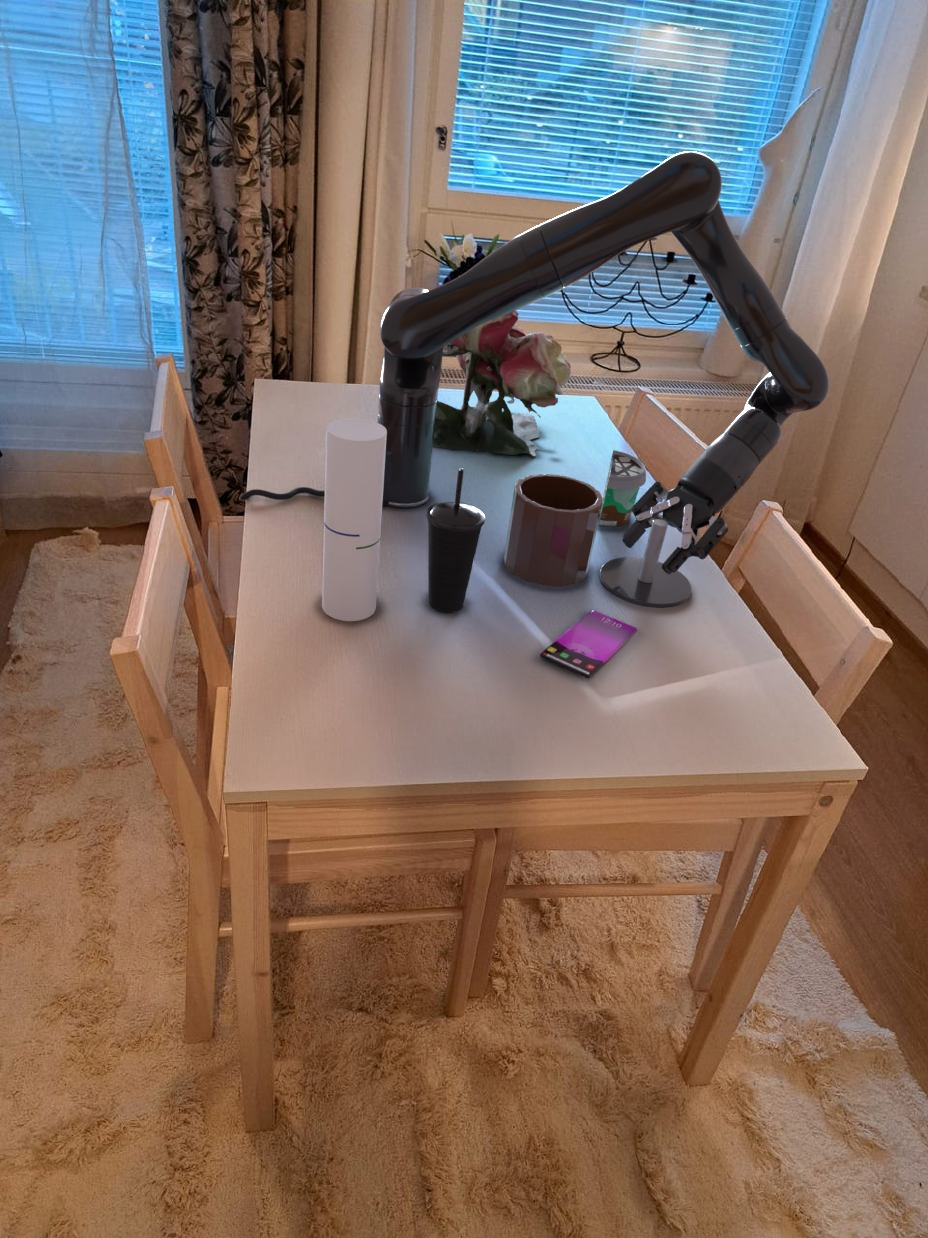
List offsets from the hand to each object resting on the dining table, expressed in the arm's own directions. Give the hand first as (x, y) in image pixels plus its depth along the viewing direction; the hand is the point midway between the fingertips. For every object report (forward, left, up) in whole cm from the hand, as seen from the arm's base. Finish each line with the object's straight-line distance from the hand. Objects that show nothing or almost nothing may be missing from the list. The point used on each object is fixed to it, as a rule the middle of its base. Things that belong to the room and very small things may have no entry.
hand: (645, 557), depth 127 cm
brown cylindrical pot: (-11, +9, -5) cm, 15 cm away
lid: (+1, 0, -5) cm, 5 cm away
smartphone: (-16, -11, -5) cm, 20 cm away
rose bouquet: (+6, +62, -5) cm, 63 cm away
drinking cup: (-30, +4, -5) cm, 30 cm away
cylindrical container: (-43, +7, -5) cm, 44 cm away
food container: (+10, +20, -5) cm, 23 cm away
